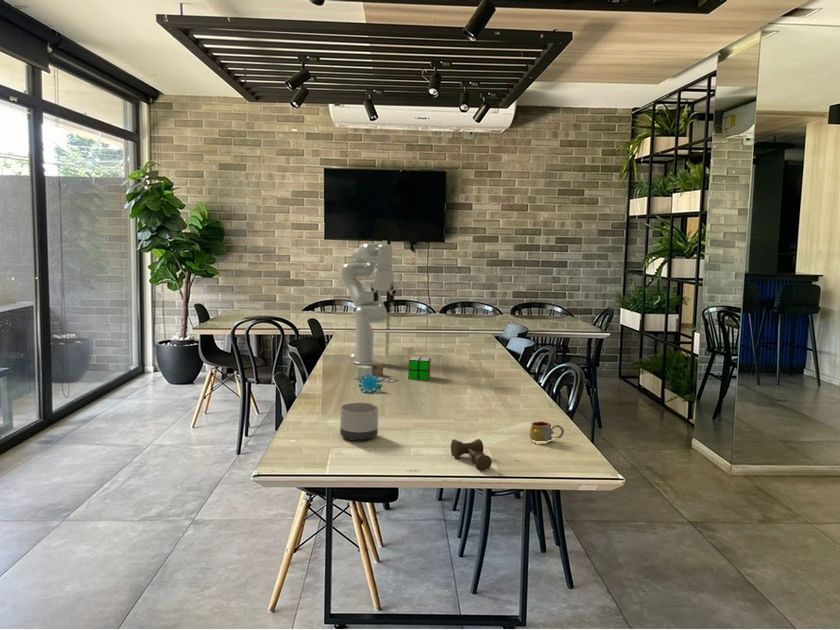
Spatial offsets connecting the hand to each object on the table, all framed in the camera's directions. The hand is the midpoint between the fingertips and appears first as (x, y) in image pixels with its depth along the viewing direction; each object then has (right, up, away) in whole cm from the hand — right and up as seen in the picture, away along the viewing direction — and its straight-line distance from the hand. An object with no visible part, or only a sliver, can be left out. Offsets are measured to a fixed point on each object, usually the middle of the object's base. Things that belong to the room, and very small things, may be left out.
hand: (383, 301), depth 328 cm
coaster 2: (+4, -39, -18) cm, 43 cm away
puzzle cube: (+18, -39, -10) cm, 44 cm away
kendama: (+35, -53, -127) cm, 142 cm away
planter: (-2, -49, -107) cm, 118 cm away
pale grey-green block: (-8, -38, -17) cm, 42 cm away
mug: (+63, -51, -106) cm, 133 cm away
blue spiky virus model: (-4, -41, -41) cm, 59 cm away
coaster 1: (-8, -38, -17) cm, 43 cm away
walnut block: (-3, -37, -7) cm, 38 cm away
